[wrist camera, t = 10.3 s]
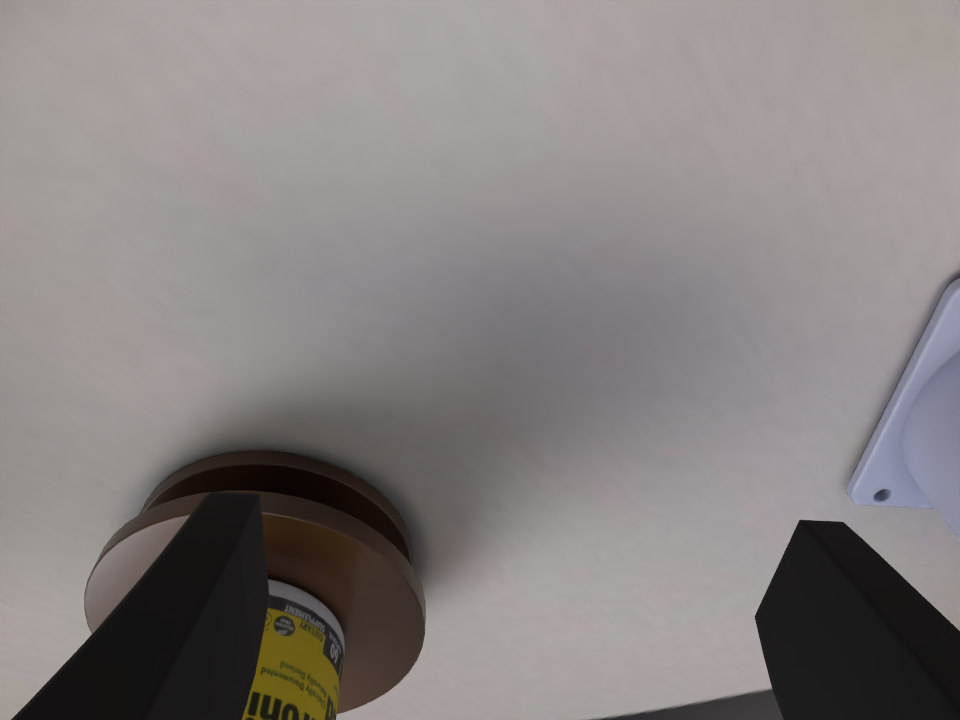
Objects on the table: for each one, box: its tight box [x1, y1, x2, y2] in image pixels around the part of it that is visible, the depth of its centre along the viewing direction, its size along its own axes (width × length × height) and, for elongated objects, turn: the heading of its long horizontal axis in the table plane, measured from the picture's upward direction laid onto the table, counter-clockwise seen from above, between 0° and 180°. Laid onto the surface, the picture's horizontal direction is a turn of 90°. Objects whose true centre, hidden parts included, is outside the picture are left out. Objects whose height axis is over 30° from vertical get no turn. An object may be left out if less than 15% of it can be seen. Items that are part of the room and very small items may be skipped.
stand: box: [84, 451, 426, 714], centre depth 24 cm, size 10×10×3 cm
